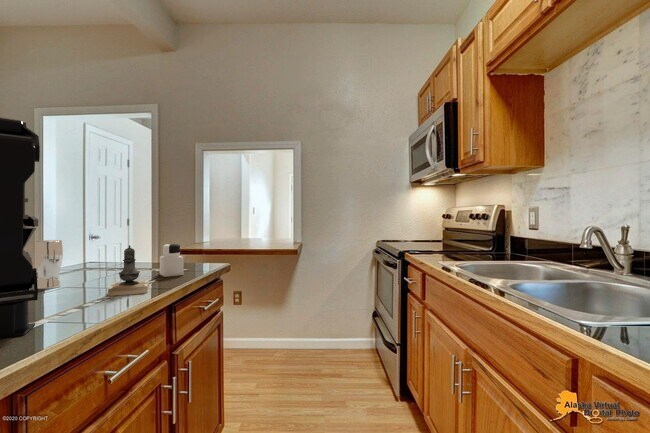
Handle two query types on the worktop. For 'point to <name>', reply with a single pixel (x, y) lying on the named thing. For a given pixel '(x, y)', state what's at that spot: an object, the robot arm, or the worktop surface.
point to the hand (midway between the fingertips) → (9, 258)
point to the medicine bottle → (171, 261)
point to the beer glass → (48, 263)
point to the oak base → (128, 288)
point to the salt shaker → (129, 268)
